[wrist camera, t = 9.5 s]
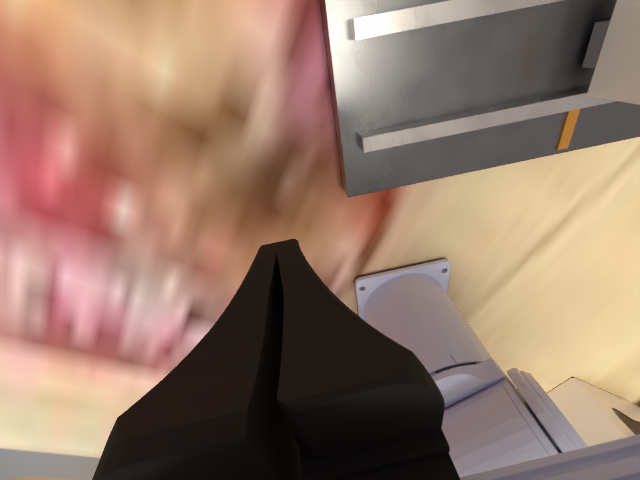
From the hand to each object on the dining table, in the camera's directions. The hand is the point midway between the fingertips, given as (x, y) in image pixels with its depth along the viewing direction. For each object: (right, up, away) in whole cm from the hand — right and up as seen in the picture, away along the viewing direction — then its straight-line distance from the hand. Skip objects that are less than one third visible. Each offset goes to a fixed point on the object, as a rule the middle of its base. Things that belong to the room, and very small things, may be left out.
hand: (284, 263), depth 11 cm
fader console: (+14, +12, +6) cm, 19 cm away
